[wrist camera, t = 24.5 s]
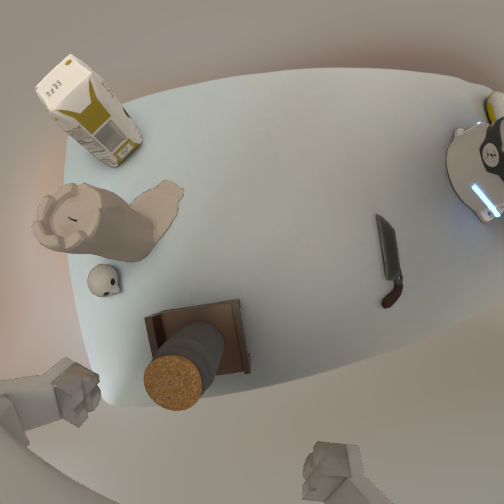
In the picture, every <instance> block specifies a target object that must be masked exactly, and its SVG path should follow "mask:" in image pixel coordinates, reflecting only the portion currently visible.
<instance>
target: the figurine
mask: <svg viewBox="0 0 504 504" xmlns="http://www.w3.org/2000/svg"><path fill="white" fill-rule="evenodd" d="M87 283H88V287H89V290H90V291H91V292H92V294H94V295H96V296H98V297H107V296H109V295H110V294H112V293H113V294H116V293H118V292H119V286H118V285H117V284H118V276H117V272H116V270H115V269H114V268H113V267H112V266H110V265H108V264H99V265H97V266H95V267H94V268H93V269H92V270H91V271H90V273H89V276H88V280H87Z"/></svg>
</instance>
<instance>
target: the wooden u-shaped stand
mask: <svg viewBox="0 0 504 504" xmlns="http://www.w3.org/2000/svg"><path fill="white" fill-rule="evenodd" d="M240 307H241V306H240V300H239V299H235V300H229V301H223V302H217V303H210V304H204V305H198V306H191V307H185V308H178V309H171V310H164V311H161V312H158V313H156V314H153V315H150V316H148V317H145V324H146V329H147V333H148V338H149V343H150V347H151V352H152V356H153V358H154V357H155V356H156V353H157V351H158V350H159V348H160V347H161V346H162V345H163V344H164V343H165V342H166V341H167V340H169V339H170V338H171V337H173V336H174V335H175V334H177V333H178V332H179V331H180V330H182V329H183V328H184V327H186V326H187V325H189V324H191V323H194V322H207V323H209V324H212V325H213V326H215V327H216V328H217V329H218V330H219V331H220V333H221V334H222V336H223V339H224V352H223V355H222V358H221V361H220V364H219V367H218V370H217V373H216V375H222V374H230V373H237V372H243V371H244V374H249V373H251V360H250V354H249V353H248V350H247V345H246V340H245V335H244V329H243V324H242V318H241V313H240Z"/></svg>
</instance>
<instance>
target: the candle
mask: <svg viewBox="0 0 504 504" xmlns="http://www.w3.org/2000/svg"><path fill="white" fill-rule="evenodd" d="M183 195H184V190H183V188H179V187H178V186H177V185H176V184H175V183H173V182H171V181H168V180H164V181H162V182H161V183H160V184H159V185H157V186H156V187H155V188H154V189H150V190H148V191H145V192H143V193H142V194H141V195H140V196H139V197H137V198H136V199H135V200H134V201H133V203H132V204H131V205H130V206H129V205H128V204H127V203H126V202H125V201H124V200H123V199H122V198H120V197H119V196H117V195H116V194H114V193H113V192H110V191H108V190H105V189H101V188H97V187H94V186H91V185H88V184H86V183H82V184H80V185H77V184H73V183H69V184H66V185H64V186H63V187H61V188H60V189H59V190H58V191H57V192H56V193H55V194H53V195H47V196H44V197H43V198H42V200H41V203H40V205H39V208H38V213H37V219H36V221H34V222H33V224H32V230H33V233H34V235H35V237H36V239H37V240H38V242H39V243H40V244H41V245H43V246H44V247H47V248H49V249H51V250H54V251H59V252H65V253H72V254H94V255H98V256H102V257H105V258H109V259H113V260H119V261H126V262H137V261H140V260H142V259H144V258H145V257H146V256H147V255H148V254H149V253H150V251H151V250H152V248H153V247H154V245H155V244H156V243H157V242H158V241H159V240H160V238H161V237H162V236H163V235H164V233H165V232H166V231H167V230H168V228H169V227H170V225H171V223H172V222H173V220H174V219H175V217H176V215H177V211H178V202H179V201H180V200H181V199H182V197H183Z"/></svg>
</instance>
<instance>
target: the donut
mask: <svg viewBox="0 0 504 504" xmlns="http://www.w3.org/2000/svg"><path fill="white" fill-rule="evenodd" d="M487 112H488V115H489V118H490V121H491V123H493V122H494V121H495V120H497V119H500V118H501V117H504V93H501V92H498V91H494V92H493V93H491V94H490V95H489V97H488V99H487Z"/></svg>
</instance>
